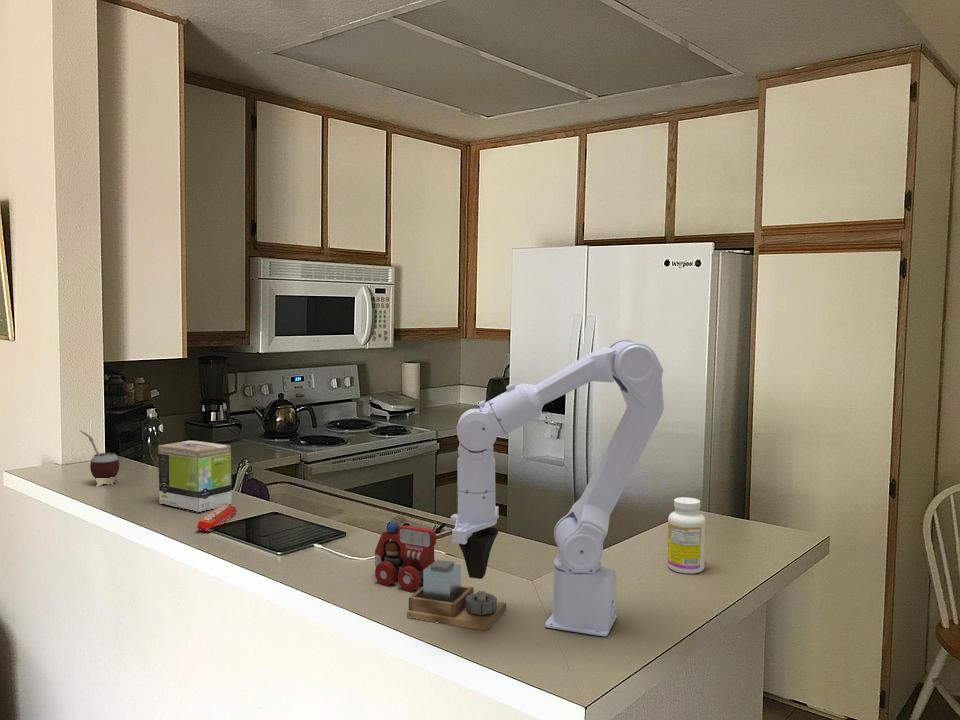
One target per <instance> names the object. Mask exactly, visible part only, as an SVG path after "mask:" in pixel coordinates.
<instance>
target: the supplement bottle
mask: <svg viewBox="0 0 960 720" xmlns="http://www.w3.org/2000/svg"><path fill="white" fill-rule="evenodd" d="M673 506H674V511H672V512H671V513H670V514H669V515H668V518H667V519H668V520H667V566H668V568H669V569H670V570H672V571H674V572H677V573H682V574H688V575H689V574H690V575H691V574H697V573H702V572H703V570H704V569H705V567H706V566H705V565H706V563H705V562H706V560H705V559H706V518H705V516H704V515H703V514H702V513H700V509H701V500H700V499H698V498H694V497H686V496H684V497H683V496H681V497H676V498H674V499H673Z"/></svg>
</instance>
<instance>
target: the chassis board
mask: <svg viewBox="0 0 960 720" xmlns="http://www.w3.org/2000/svg"><path fill="white" fill-rule="evenodd" d="M474 591H475V589H474V586H468V585H467V586H466V585H461V596H460V597H459V598H457V599H456V600H455V601H454V602H453V603H451V602H444V601H438V600H431V599H425V598H423V586H421V587H420V588H419V589H417V591H415V592H413V594H411V595H410V596H408V610H407V611H406V618H407V617H411V618H418V619H423V620H428V621H427V622H429V621H434V622H433V623H435V622H438V623H437V624H441V623H443V625H447V624H448V626H455V627H460V628H467V629H473V630H477V631H478V630H479V631H486V632H487V631H488V630H489V629H490V628H491V627H492V626H493V625H494V623H496V621H497V620H498V619H499V618H500V617H501V616H502V615H503V614H504V612H505V611H506V610H507V602H504V601H498V600H497V609H496V610H495V611H494V612H492V613H490V614H484V615H482V614H481V615H479V614H473V613H469V612H468V611H467V610H466V597H467V596H468V595H471V594H474ZM476 593H477V601H486V593H487V592H486V591H483V590H477V591H476ZM411 618H410V619H411ZM423 620H422V621H423Z"/></svg>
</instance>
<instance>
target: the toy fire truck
mask: <svg viewBox="0 0 960 720" xmlns="http://www.w3.org/2000/svg"><path fill="white" fill-rule="evenodd" d="M386 529H387V530H385V531H383V532H381V535H380V537H379V540H378V542H377V545H376V548H375V549H374V565H375V570H374V575H375V578H376V580H377V582H379V584H381V585H383V586H390V585H391V584H393V583H394V582H395V581H396V580H397V581H398V582H397V583H398V584H399V586H400V587H401V588H402V589H403V590H405V591H406V592H412V591H414V590H416V589H418V588H419V586H420V585H421V582H422V581H423V570H424V569H425V568H427V567H428V566H429V565H431V564H432V563H433V562H435V561H436V560H435V546H436V545H437V534H436V533H437V532H436V531H435V530H434V529H433V528H432V529H430V528H423V527H419V526H411V525H406V524H404V525H402V526H399V524H398V523H397V522H395V521H392V522H389V523H388V524H387V528H386Z"/></svg>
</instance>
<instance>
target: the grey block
mask: <svg viewBox="0 0 960 720" xmlns="http://www.w3.org/2000/svg"><path fill="white" fill-rule="evenodd" d="M461 576H462V564H460V563H459V564H458V563H455V562H454V561H450V560H443V559H442V560H441V559H437V560H435V562H433V563H432V564H431V565H429V566H428V567H427V568H425V569H424V570H423V580H422V581H423V586H422V587H423V598H425V599H431V600H438V601H444V602H451V603H453V602H454V601H455V600H456V599H457V598H459V597H460V596H461V586H462V584H461V583H462V578H461Z"/></svg>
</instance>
